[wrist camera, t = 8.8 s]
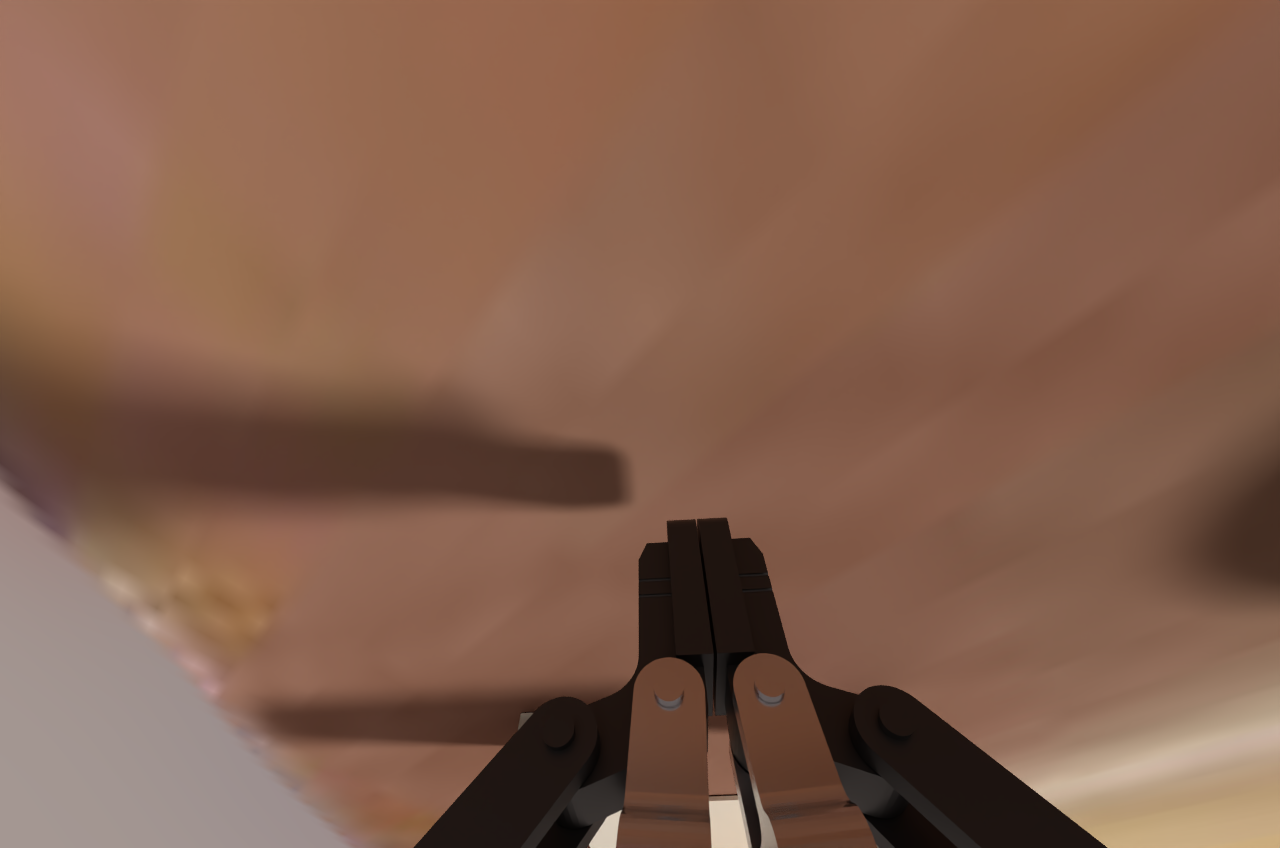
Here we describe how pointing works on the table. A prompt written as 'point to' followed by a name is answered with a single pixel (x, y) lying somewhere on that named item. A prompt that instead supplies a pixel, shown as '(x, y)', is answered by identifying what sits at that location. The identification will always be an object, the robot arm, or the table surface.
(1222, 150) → the table surface
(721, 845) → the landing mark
